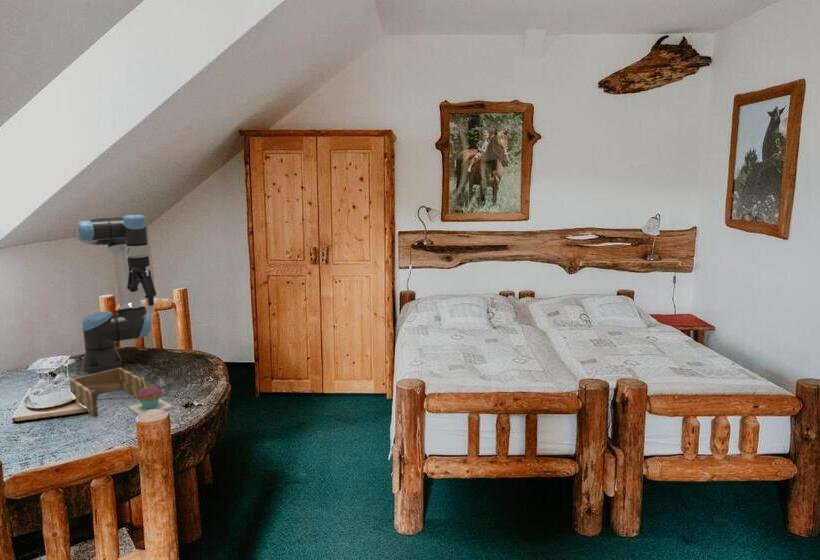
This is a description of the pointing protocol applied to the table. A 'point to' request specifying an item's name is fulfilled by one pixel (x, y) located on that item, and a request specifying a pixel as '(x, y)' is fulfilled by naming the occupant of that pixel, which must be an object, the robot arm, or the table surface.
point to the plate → (161, 405)
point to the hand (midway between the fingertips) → (143, 310)
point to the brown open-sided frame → (103, 386)
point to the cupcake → (149, 396)
